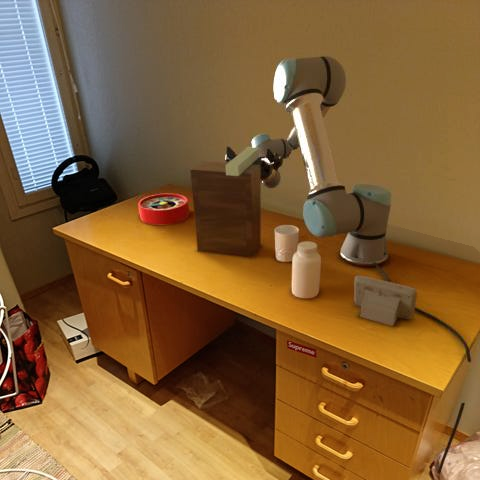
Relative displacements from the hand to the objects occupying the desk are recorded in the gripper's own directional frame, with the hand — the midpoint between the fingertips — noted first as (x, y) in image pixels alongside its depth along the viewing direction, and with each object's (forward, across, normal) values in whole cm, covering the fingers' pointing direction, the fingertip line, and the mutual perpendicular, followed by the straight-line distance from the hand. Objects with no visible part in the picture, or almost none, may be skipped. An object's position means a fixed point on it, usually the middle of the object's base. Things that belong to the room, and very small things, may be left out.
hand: (247, 152), depth 144 cm
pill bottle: (+10, -26, -42) cm, 50 cm away
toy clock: (-29, +41, -19) cm, 54 cm away
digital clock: (+15, -48, -45) cm, 68 cm away
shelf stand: (-9, +5, -30) cm, 32 cm away
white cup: (-8, -16, -32) cm, 36 cm away
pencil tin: (+2, 0, -5) cm, 5 cm away
